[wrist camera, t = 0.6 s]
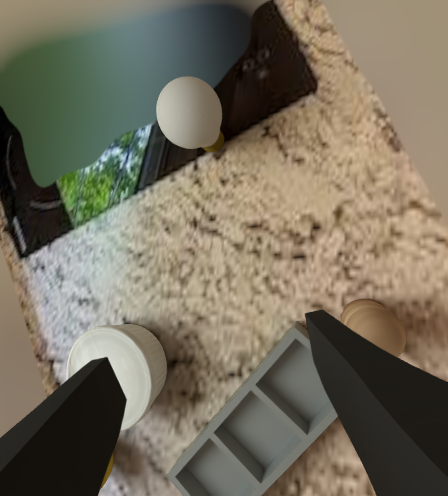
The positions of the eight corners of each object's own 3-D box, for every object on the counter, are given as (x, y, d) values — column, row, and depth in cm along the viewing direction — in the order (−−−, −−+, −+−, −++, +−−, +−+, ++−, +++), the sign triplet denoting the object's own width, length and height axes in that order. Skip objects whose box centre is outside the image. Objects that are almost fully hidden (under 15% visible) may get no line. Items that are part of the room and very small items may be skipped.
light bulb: (245, 160, 31) (214, 117, 22) (197, 175, 33) (149, 142, 23) (234, 110, 32) (200, 48, 22) (188, 128, 33) (137, 77, 24)
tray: (360, 375, 27) (365, 388, 24) (227, 514, 31) (219, 539, 28) (296, 320, 29) (294, 327, 26) (178, 457, 33) (166, 475, 30)
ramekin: (85, 364, 37) (49, 380, 32) (127, 298, 36) (97, 304, 31) (143, 427, 34) (113, 456, 29) (193, 359, 33) (170, 377, 28)
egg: (401, 320, 26) (429, 340, 20) (369, 354, 27) (386, 384, 21) (360, 289, 27) (374, 299, 21) (330, 323, 28) (335, 342, 22)
